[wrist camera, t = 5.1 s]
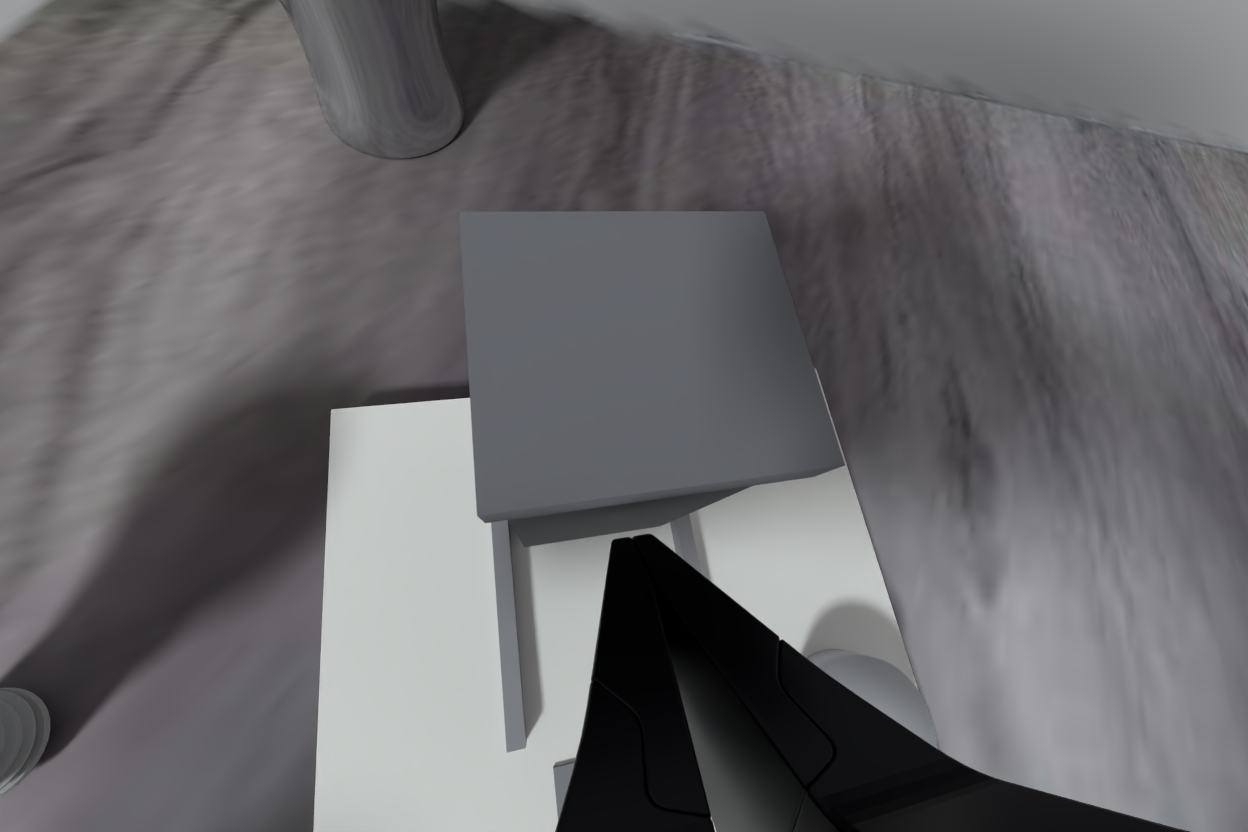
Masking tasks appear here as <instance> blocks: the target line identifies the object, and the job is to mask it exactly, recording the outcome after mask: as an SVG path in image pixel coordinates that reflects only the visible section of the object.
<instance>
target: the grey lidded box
mask: <svg viewBox="0 0 1248 832" xmlns="http://www.w3.org/2000/svg"><path fill="white" fill-rule="evenodd" d="M459 220H460V237H461V254H462V271H463V288H464V305H465V322H466V339H467V356H468V372H469V389H470V406H471V423H472V440H473V457H474V474H475V491H476V508H477V516H478V517H479V518H480V519H481V520H482V521H483V522H484V523H491V522H498V521H505V520H508V521H509V523H510V524H511V526H512V528H513V529H514V531H515V532H516V534H517V536H518V537H519V539H520V541H521V542H522V544H523V546H524V547H530V546H536V545H543V544H549V543H556V542H562V541H569V540H575V539H582V538H588V537H595V536H601V535H608V534H614V533H621V532H627V531H633V530H640V529H646V528H653V527H659V526H662V525H665V524H667V523H669V522H671V521H674V520H676V519H678V518H681V517H683V516H685V515H687V514H690V513H692V512H694V511H697V510H699V509H701V508H703V507H706V506H708V505H710V504H713V503H715V502H717V501H719V500H722V499H724V498H726V497H729V496H731V495H733V494H735V493H738V492H740V491H742V490H745V489H747V488H749V487H751V486H754V485H761V484H768V483H775V482H782V481H789V480H796V479H804V478H811V477H815V476H818V475H820V474H823V473H826V472H828V471H831V470H834V469H836V468H839V467H842V466H845V463H844V460H843V457H842V454H841V450H840V447H839V444H838V441H837V438H836V435H835V432H834V428H833V425H832V422H831V419H830V416H829V413H828V410H827V406H826V403H825V400H824V397H823V394H822V391H821V387H820V384H819V381H818V378H817V375H816V372H815V369H814V365H813V362H812V359H811V356H810V353H809V350H808V347H807V343H806V340H805V337H804V334H803V331H802V328H801V324H800V321H799V318H798V315H797V312H796V309H795V306H794V302H793V299H792V296H791V293H790V290H789V287H788V284H787V280H786V277H785V274H784V271H783V268H782V265H781V261H780V258H779V255H778V252H777V249H776V246H775V243H774V239H773V236H772V233H771V230H770V227H769V224H768V221H767V217H766V214H765V211H618V212H459Z"/></svg>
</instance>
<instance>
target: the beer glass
mask: <svg viewBox="0 0 1248 832" xmlns="http://www.w3.org/2000/svg"><path fill="white" fill-rule="evenodd" d="M279 1H280V2H281V4H282V6H283V7H284V9H285V11H286V13H287V15H288V17H289V19H290V21H291V23H292V25H293V27H294V29H295V31H296V33H297V35H298V38H299V40H300V43H301V45H302V47H303V50H304V52H305V55H306V58H307V61H308V65H309V68H310V71H311V75H312V79H313V83H314V87H315V90H316V94H317V98H318V102H319V105H320V108H321V111H322V114H323V116H324V119H325V121H326V123H327V124H328V126H329V127H330V128H331V130H332V131H333V132H334V133H335V135H336V136H337V137H339V138H340V139H341V140H342V141H343V142H345V143H346V144H348V145H349V146H351V147H353V148H355V149H357V150H359V151H362V152H364V153H367V154H370V155H374V156H378V157H384V158H394V159H404V158H414V157H419V156H423V155H427V154H430V153H432V152H435V151H437V150H439V149H441V148H442V147H444V146H445V145H447V144H448V143H449V142H451V141H452V140H453V139H454V138H455V136H456V135H457V134H458V133H459V131H460V129H461V127H462V125H463V121H464V114H465V108H464V102H463V98H462V95H461V91H460V88H459V85H458V83H457V80H456V77H455V74H454V72H453V69H452V66H451V63H450V60H449V58H448V54H447V51H446V48H445V44H444V40H443V36H442V31H441V27H440V21H439V14H438V6H437V0H279Z"/></svg>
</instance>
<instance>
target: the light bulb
mask: <svg viewBox="0 0 1248 832" xmlns="http://www.w3.org/2000/svg"><path fill="white" fill-rule="evenodd" d="M49 734H50V716H49V713H48V709H47V707H46V706H45V704H44V703H43V701H42V700H41V699H40V698H39V697H38V696H36V695H35V694H33V693H31V692H29V691H27V690H24V689H19V688H0V796H2V795H4V794H6V793H7V792H8V791H10V790H11V789H12V788H14V787H15V786H16V785H18V784H19V783H20V782H21V781H22V780H23V779H24V778H25V777H26V776H27V775H28V774H29V773H30V772H31V770H32V769H33V768H34V767H35V765H36V764H37V763H38V761H39V759H40V757H41V756H42V754H43V752H44V750H45V747H46V745H47V742H48V739H49Z"/></svg>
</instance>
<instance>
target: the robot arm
mask: <svg viewBox="0 0 1248 832" xmlns="http://www.w3.org/2000/svg"><path fill="white" fill-rule="evenodd" d="M711 818H712V820H711ZM712 821H713V822H712ZM713 823H714V825H713ZM714 826H715V829H716V831H717V832H1190V831H1185V830H1181V829H1177V828H1173V827H1170V826H1166V825H1162V824H1159V823H1155V822H1151V821H1148V820H1144V819H1141V818H1137V817H1133V816H1130V815H1126V814H1122V813H1119V812H1115V811H1112V810H1108V809H1104V808H1101V807H1097V806H1093V805H1090V804H1086V803H1082V802H1079V801H1075V800H1072V799H1068V798H1064V797H1061V796H1057V795H1053V794H1050V793H1046V792H1043V791H1039V790H1035V789H1032V788H1028V787H1024V786H1021V785H1017V784H1014V783H1010V782H1006V781H1003V780H1000V779H996V778H993V777H991V776H988V775H986V774H983V773H981V772H978V771H976V770H974V769H972V768H970V767H968V766H966V765H964V764H962V763H960V762H958V761H957V760H955V759H953V758H951V757H949V756H948V755H946V754H945V753H943V752H941V751H940V750H938V749H937V748H935V747H934V746H932V745H931V744H929V743H928V742H926V741H925V740H923V739H922V738H920V737H919V736H917V735H916V734H914V733H913V732H911V731H910V730H908V729H907V728H905V727H904V726H902V725H901V724H899V723H898V722H897V721H895V720H894V719H892V718H891V717H889V716H888V715H886V714H885V713H883V712H882V711H880V710H879V709H877V708H876V707H874V706H873V705H871V704H870V703H868V702H867V701H865V700H864V699H862V698H861V697H859V696H858V695H857V694H855V693H854V692H852V691H851V690H849V689H848V688H847V687H845V686H844V685H842V684H841V683H839V682H838V681H837V680H835V679H834V678H832V677H831V676H830V675H828V674H827V673H825V672H824V671H823V670H821V669H820V668H819V667H818V666H816V665H815V664H814V663H812V662H811V661H810V660H808V659H807V658H806V657H805V656H803V655H802V654H801V653H799V652H798V651H797V650H796V649H794V648H793V647H792V646H791V645H789V644H788V643H787V642H786V641H784V640H783V639H781V640H780V638H779V636H778V635H777V634H776V633H774V632H773V631H772V630H771V629H769V628H768V627H767V626H766V625H764V624H763V623H762V622H761V621H759V620H758V619H757V618H756V617H754V616H753V615H752V614H751V613H749V612H748V611H747V610H746V609H745V608H743V607H742V606H741V605H740V604H738V603H737V602H736V601H735V600H733V599H732V598H731V597H730V596H728V595H727V594H726V593H725V592H723V591H722V590H721V589H720V588H718V587H717V586H716V585H715V584H714V583H712V582H711V581H710V580H709V579H707V578H706V577H705V576H704V575H702V574H701V573H700V572H699V571H697V570H696V569H695V568H694V567H692V566H691V565H690V564H689V563H687V562H686V561H685V560H684V559H682V558H681V557H680V556H679V555H678V554H676V553H675V552H674V551H673V550H671V549H670V548H669V547H668V546H666V545H665V544H664V543H663V542H661V541H660V540H659V539H658V538H656V537H655V536H654V535H652V534H643V535H636V536H634V537H633V538H630V537H624V538H617V539H613V540H612V542H611V547H610V554H609V561H608V568H607V574H606V581H605V588H604V595H603V601H602V608H601V615H600V621H599V628H598V635H597V642H596V648H595V655H594V662H593V669H592V675H591V683H590V687H589V694H588V701H587V707H586V712H585V718H584V723H583V728H582V734H581V739H580V742H579V746H578V750H577V754H576V758H575V762H574V766H573V770H572V774H571V778H570V781H569V785H568V788H567V792H566V795H565V799H564V802H563V806H562V809H561V813H560V816H559V820H558V823H557V827H556V830H555V832H715V829H714Z"/></svg>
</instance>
